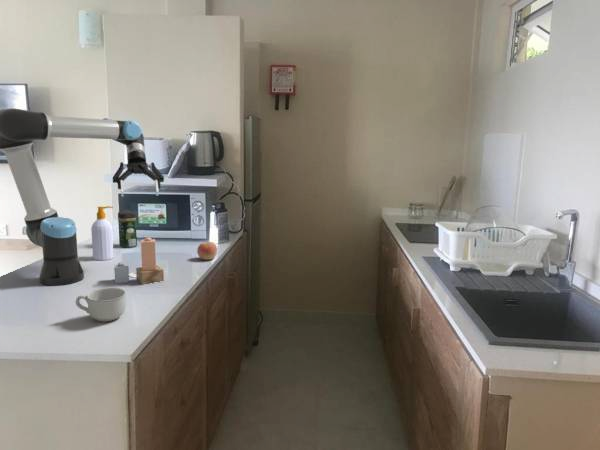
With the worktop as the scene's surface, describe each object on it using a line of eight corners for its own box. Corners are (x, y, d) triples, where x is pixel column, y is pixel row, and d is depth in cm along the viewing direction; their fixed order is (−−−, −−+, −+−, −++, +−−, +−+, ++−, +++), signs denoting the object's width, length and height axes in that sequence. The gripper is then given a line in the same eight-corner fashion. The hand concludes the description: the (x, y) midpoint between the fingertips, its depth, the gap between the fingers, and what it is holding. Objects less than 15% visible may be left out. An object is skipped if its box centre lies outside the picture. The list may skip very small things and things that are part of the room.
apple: (215, 261, 206) (214, 244, 204) (195, 261, 206) (195, 244, 204) (218, 257, 214) (218, 240, 213) (200, 256, 214) (199, 240, 213)
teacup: (131, 311, 144) (130, 287, 142) (119, 325, 133) (118, 299, 131) (86, 311, 143) (85, 287, 142) (70, 325, 132) (69, 298, 131)
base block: (142, 285, 171) (142, 272, 170) (136, 280, 177) (136, 267, 176) (163, 282, 175) (163, 269, 174) (157, 277, 182) (156, 265, 181)
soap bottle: (115, 259, 206) (112, 207, 202) (92, 261, 203) (89, 208, 199) (115, 255, 214) (112, 205, 210) (93, 256, 211) (90, 205, 206)
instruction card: (133, 277, 179) (133, 276, 179) (125, 274, 183) (124, 274, 183) (151, 273, 186) (151, 272, 186) (142, 270, 189) (142, 270, 189)
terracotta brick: (142, 270, 172) (140, 239, 170) (142, 267, 177) (141, 237, 175) (156, 269, 174) (154, 239, 172) (156, 266, 178) (154, 236, 176)
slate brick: (115, 283, 172) (114, 265, 171) (115, 279, 177) (114, 262, 176) (129, 281, 174) (128, 264, 173) (128, 278, 179) (127, 261, 177)
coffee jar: (117, 245, 235) (115, 209, 231) (133, 243, 239) (131, 208, 236) (123, 248, 227) (121, 212, 224) (139, 247, 232) (137, 211, 228)
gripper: (165, 162, 205) (171, 198, 194) (105, 161, 195) (107, 200, 184) (166, 150, 199) (172, 187, 188) (104, 149, 190) (106, 188, 179)
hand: (140, 194), depth 186 cm, fingers open, 13 cm apart
